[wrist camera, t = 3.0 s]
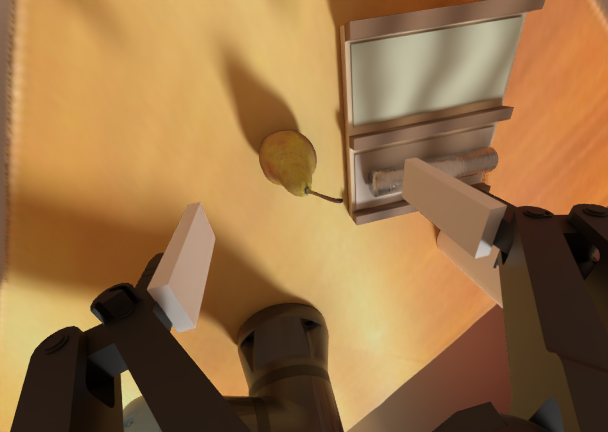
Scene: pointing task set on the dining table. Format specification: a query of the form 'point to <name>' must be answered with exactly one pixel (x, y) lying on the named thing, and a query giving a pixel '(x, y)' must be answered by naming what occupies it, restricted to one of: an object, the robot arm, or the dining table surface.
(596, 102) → the dining table surface
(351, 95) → the rack
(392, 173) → the rod
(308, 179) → the fruit
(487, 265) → the cup
